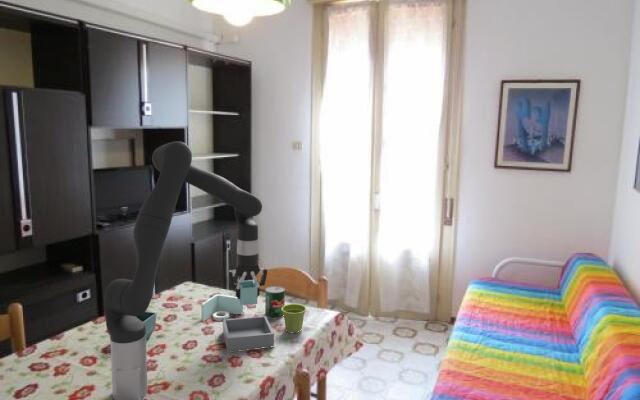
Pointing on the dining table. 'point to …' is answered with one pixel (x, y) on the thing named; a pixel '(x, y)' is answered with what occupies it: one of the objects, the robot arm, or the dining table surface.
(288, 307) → the plant pot
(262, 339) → the grey open tray
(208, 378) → the dining table surface
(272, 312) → the canned tomato
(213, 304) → the right angle wall
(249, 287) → the teal crate
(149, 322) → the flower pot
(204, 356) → the dining table surface
